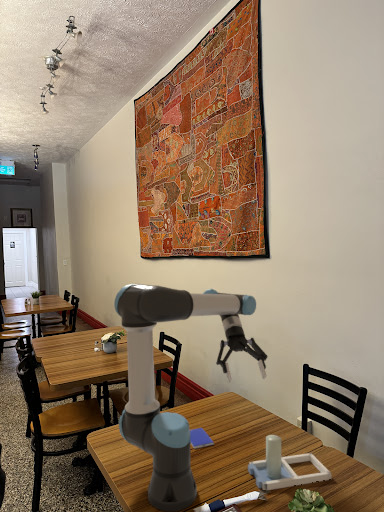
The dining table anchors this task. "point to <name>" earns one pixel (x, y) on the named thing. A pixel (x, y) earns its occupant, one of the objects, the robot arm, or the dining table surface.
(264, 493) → the dining table surface
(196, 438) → the blue book
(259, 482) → the bay rack
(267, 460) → the pale green cylinder
